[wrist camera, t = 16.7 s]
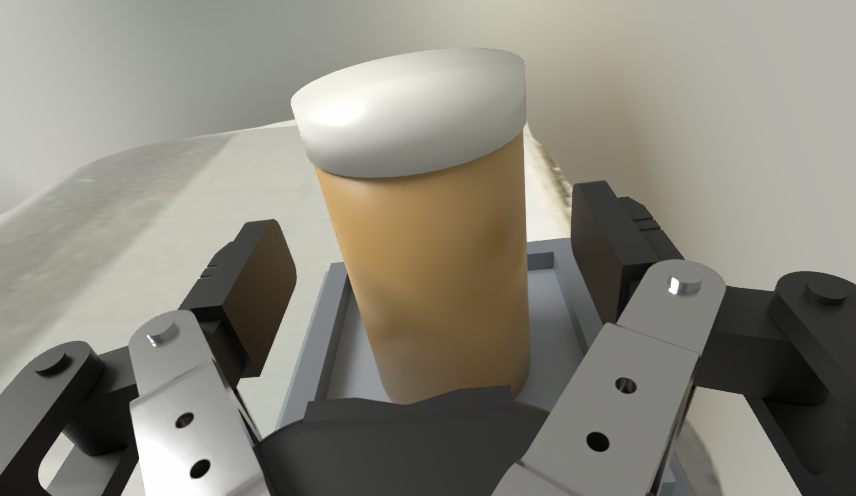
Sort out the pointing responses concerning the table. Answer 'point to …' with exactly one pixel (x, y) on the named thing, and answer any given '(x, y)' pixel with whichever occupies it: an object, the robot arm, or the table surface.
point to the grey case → (549, 343)
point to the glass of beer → (429, 212)
